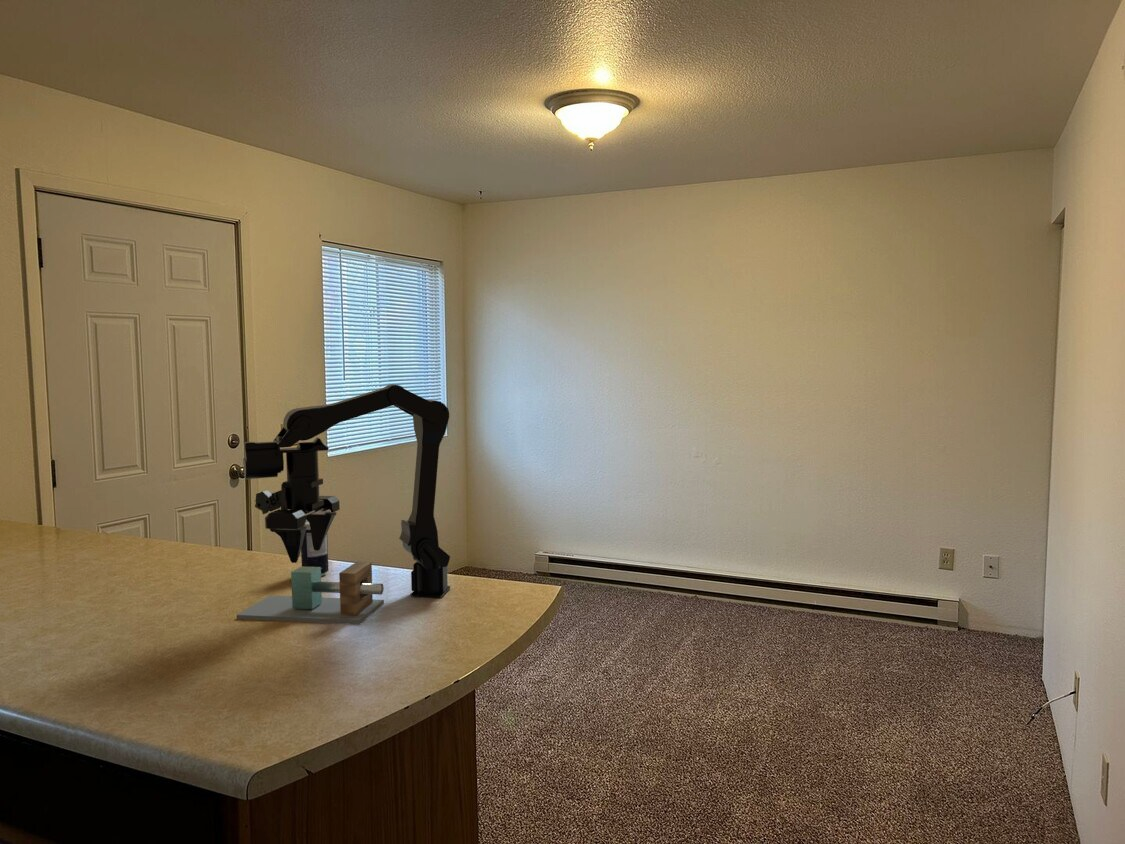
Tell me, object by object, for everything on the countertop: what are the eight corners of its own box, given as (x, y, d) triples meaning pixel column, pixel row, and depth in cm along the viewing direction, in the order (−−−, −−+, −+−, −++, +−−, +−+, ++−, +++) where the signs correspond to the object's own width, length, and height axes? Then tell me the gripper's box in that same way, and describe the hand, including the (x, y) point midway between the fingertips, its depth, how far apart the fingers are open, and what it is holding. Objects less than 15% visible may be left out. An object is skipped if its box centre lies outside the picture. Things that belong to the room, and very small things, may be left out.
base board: (384, 603, 154) (383, 599, 154) (359, 624, 142) (359, 620, 142) (269, 599, 157) (269, 595, 157) (236, 619, 145) (236, 614, 145)
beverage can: (332, 571, 177) (330, 519, 176) (322, 578, 172) (320, 524, 171) (308, 571, 178) (306, 519, 177) (297, 578, 172) (295, 524, 171)
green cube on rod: (386, 605, 149) (385, 569, 149) (378, 611, 146) (377, 574, 145) (302, 601, 152) (301, 566, 151) (292, 608, 148) (291, 572, 147)
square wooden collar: (372, 602, 152) (371, 562, 151) (356, 616, 144) (354, 573, 143) (358, 602, 152) (356, 561, 152) (340, 615, 144) (339, 573, 144)
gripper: (287, 467, 158) (290, 543, 159) (235, 482, 140) (239, 568, 141) (339, 468, 156) (342, 545, 158) (294, 483, 138) (297, 570, 139)
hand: (306, 556), depth 149 cm, fingers open, 9 cm apart
